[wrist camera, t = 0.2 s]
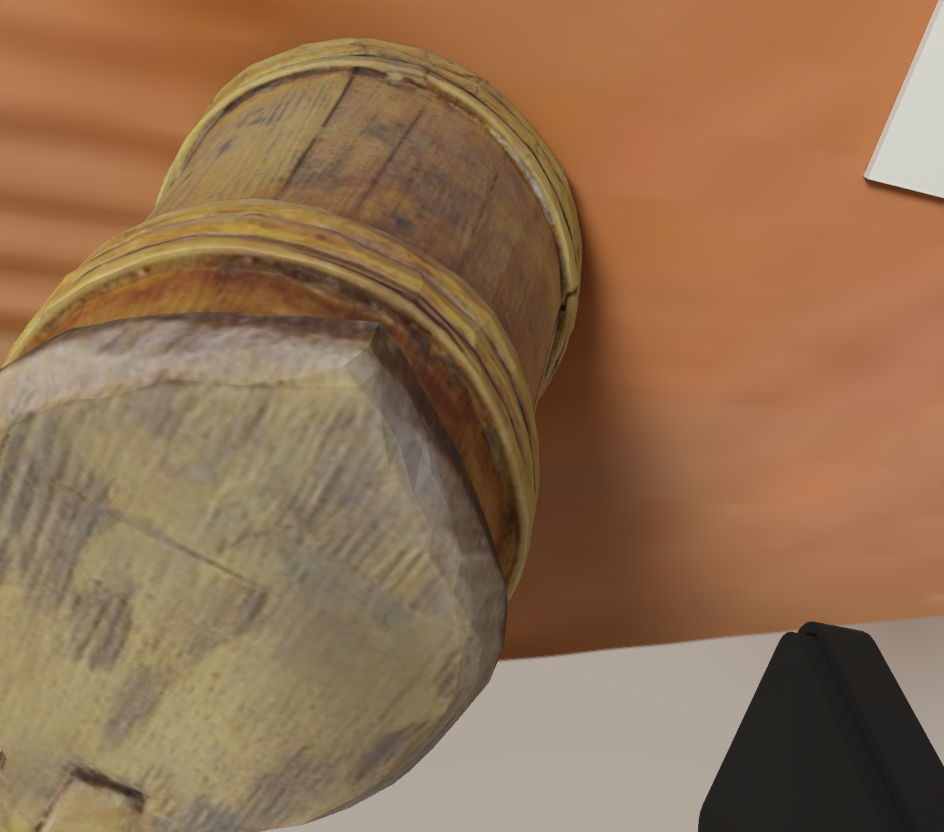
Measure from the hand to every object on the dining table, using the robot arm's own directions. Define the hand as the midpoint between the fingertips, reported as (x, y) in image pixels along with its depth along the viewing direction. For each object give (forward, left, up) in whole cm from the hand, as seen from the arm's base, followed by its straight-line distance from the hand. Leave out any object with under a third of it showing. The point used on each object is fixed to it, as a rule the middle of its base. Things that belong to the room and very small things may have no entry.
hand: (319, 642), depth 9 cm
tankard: (+8, -4, -31) cm, 32 cm away
